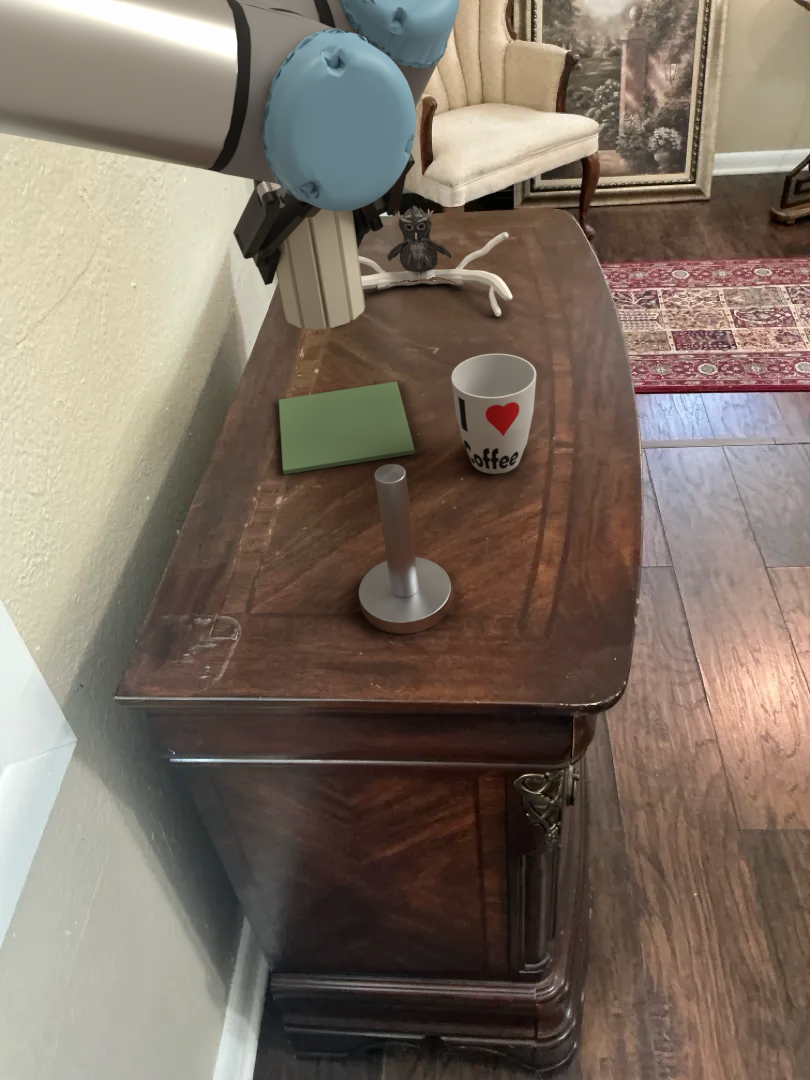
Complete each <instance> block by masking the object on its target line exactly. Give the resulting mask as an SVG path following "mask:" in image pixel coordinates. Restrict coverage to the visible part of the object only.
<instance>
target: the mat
mask: <svg viewBox="0 0 810 1080" xmlns="http://www.w3.org/2000/svg"><path fill="white" fill-rule="evenodd" d="M278 413H279V426H280V428H279V429H280V443H281V444H280V445H281V462H282V463H281V464H282V473H283V475H291V474H297V473H303V472H309V471H317V470H322V469H328V468H334V467H335V468H336V467H340V466H347V465H354V464H359V463H366V462H373V461H379V460H385V459H392V458H399V457H403V456H411V455H415V454H416V448H415V445H414V442H413V438H412V434H411V430H410V427H409V422H408V419H407V415H406V410H405V407H404V403H403V400H402V395H401V392H400V388H399V384H398V381H391V382H383V383H378V384H371V385H365V386H359V387H357V386H356V387H352V388H351V387H350V388H346V389H345V388H344V389H339V390H332V391H326V392H320V393H313V394H306V395H299V396H293V397H287V398H280V399H278Z"/></svg>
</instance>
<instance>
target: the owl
mask: <svg viewBox="0 0 810 1080" xmlns="http://www.w3.org/2000/svg"><path fill="white" fill-rule="evenodd" d="M432 214H434V210H433V209H432V210H431V211H430V209H429V208H427V212H425V211H424V210H422V208H418V207H417V206H416V205H414V206H412V209H411V207H410V208H409V209H407V211H405V212H404V214H403V215H402V216H401V213H400V210H399V211H398V212H397V213H396V214H394V215H395V216H396V217H397V218H398V227H399V230H400V232H401V234H402V235H403V241H402V242H399V244H397V245H396V246H393V248H391V249H390V250H389V252H388V253H387V255H386V256H385V258H386V259H387V261H388V262H392V260H393V259H394V258H396V257H397V256H398V255H399V256H398V257H399V263H400V266H401V268H403V269H404V271H388V272H387V271H385V270H384V269H382V267H381V266H380V265H379V264H378V263H377V262H376V261H374V260H372V259H369V258H368V257H364V256H361V255H358V257H359V264H363V265H366V266H369V267H370V268H372V269H374V271H376V272H377V273H374V274H368V275H361V279H362V286H363V290H368V289H375V288H376V287H377V288H376V289H377V290H385V289H390V288H393V287H397V286H399V287H400V286H416V285H422V284H423V285H438V284H449V285H453V286H461V287H462V286H465V285H467V284H468V285H479V286H483V287H486V288H489V292H488V298H489V302H490V307H491V309H492V311H493V314H494V316H495V317H496V318H497V317H501V315H502V310H501V308H500V306H499V304H498V301H497V298H496V296H495V293H496V294H498V296H500V297H501V299H503V301H506V302H511V301H512V300H513V297H514V295H512V292H511V291H510V288H509V287H508V285H507V283H505V281H504V280H503V279H502V278H501V277H500V276H499V275H496V274H495V273H491V272H489V271H485V270H478V269H476V270H474V269H464V268H465V267H466V265H468V263H470V262H471V261H473V260H475V259H478V258H481V257H484V256H485V255H487V254H488V253H489V252H490V251H491V250H492V249H493V248H494V247H495V246H497V245H499V244H500V243H502V242H503V241H506V240H507V239H509V236H510V235H509V233H508V232H507V231H504V232H501V233H500V234H498V235H496V236H494V237H493V238H492V239H490V240H489V241H488V242H487V243H486V244H485V245H484V246H483V247H482V248H481V249H478V250H475V251H473V252H471V253H470V254H468V255H466V256H465V257H464V258H463V259H462V260H461V262H460V263H459V264H458V265H457V266H456V267H455V268H451V269H436V267H437V266H438V264H439V263H438V260H439V258H438V257H439V256H440V255H439V254H441V255H443V256H446V257H447V258H449V259H451V261H454V260H453V255H452V252H451V251H449V250H448V249H447V248H446V247H445V245H444V246H443V245H441V244H439V243H438V242H437V241H435V240H433V239H432V238H431V236H430V235H431V233H430V232H431V228H432V227H433V225H432V224H433V223H432V220H431V215H432ZM436 276H437V277H441V278H445V279H447V280H451V281H453V282H456V283H457V284H455V283H453V282H450V281H446V280H433V281H417V282H408V281H405V282H400V281H403V280H410V281H413V280H414V281H415V280H420V279H422V280H423V279H427V280H428V279H430V278H432V277H436ZM394 282H398V283H394ZM391 283H393V284H391ZM463 283H465V284H463ZM390 284H391V285H390ZM461 284H463V285H461ZM387 285H389V286H387ZM385 286H387V287H385ZM382 287H383V288H382Z"/></svg>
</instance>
